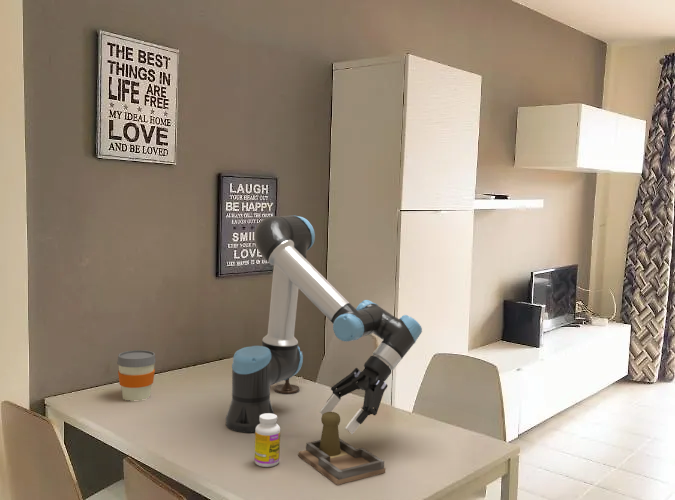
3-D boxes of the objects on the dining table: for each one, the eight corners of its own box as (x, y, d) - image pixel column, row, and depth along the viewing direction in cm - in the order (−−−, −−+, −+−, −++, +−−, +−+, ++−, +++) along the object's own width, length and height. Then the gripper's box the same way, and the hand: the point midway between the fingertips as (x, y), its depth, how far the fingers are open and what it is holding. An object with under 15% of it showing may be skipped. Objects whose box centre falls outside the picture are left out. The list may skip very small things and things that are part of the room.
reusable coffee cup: (163, 396, 224) (163, 353, 223) (134, 405, 214) (134, 361, 212) (138, 389, 231) (138, 348, 230) (109, 398, 220) (109, 355, 219)
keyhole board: (298, 455, 178) (298, 444, 178) (343, 445, 186) (344, 435, 186) (336, 484, 161) (337, 472, 161) (385, 472, 169) (385, 460, 169)
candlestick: (285, 383, 243) (287, 291, 240) (307, 389, 237) (310, 295, 234) (265, 390, 234) (268, 295, 231) (288, 396, 228) (291, 299, 225)
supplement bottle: (269, 470, 168) (270, 422, 167) (249, 463, 172) (250, 416, 171) (284, 461, 174) (285, 415, 173) (265, 455, 177) (266, 410, 176)
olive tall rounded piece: (338, 457, 175) (339, 418, 174) (316, 454, 176) (317, 415, 175) (342, 448, 181) (344, 410, 180) (321, 446, 182) (322, 408, 181)
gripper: (416, 382, 175) (368, 446, 168) (364, 360, 196) (320, 416, 189) (401, 366, 171) (352, 430, 165) (350, 344, 192) (305, 401, 186)
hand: (335, 422), depth 177 cm, fingers open, 13 cm apart
